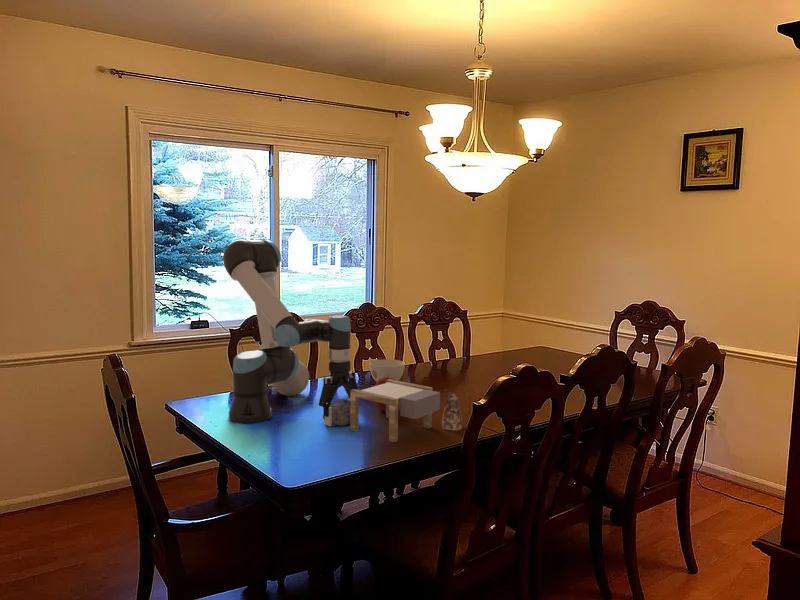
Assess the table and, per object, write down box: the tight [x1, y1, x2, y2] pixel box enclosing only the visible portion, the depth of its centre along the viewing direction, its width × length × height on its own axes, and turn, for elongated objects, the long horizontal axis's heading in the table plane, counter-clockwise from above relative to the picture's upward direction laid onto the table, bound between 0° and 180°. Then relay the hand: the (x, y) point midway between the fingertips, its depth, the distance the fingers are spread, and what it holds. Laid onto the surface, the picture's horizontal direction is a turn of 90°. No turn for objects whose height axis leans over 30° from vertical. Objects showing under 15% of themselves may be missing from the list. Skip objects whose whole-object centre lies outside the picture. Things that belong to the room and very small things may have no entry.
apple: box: [374, 375, 400, 413], centre depth 235 cm, size 10×10×14 cm
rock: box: [322, 398, 350, 427], centre depth 219 cm, size 11×10×10 cm
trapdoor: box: [361, 382, 441, 420], centre depth 210 cm, size 16×23×6 cm
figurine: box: [441, 391, 463, 432], centre depth 216 cm, size 7×7×12 cm
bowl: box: [368, 358, 406, 382], centre depth 274 cm, size 16×16×10 cm
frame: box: [349, 379, 433, 443], centre depth 213 cm, size 21×19×14 cm
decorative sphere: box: [272, 360, 310, 397], centre depth 255 cm, size 15×15×15 cm
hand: (339, 421), depth 219 cm, fingers closed on rock, 11 cm apart
